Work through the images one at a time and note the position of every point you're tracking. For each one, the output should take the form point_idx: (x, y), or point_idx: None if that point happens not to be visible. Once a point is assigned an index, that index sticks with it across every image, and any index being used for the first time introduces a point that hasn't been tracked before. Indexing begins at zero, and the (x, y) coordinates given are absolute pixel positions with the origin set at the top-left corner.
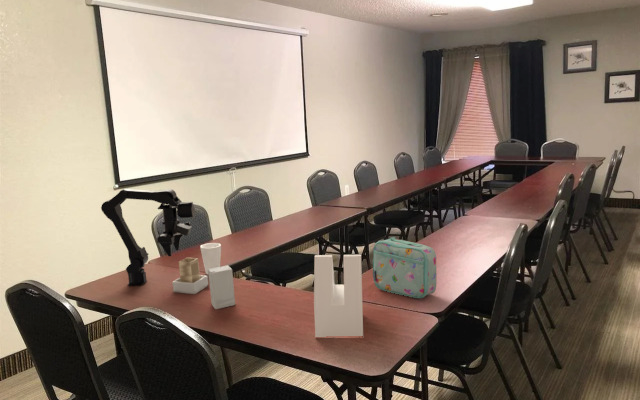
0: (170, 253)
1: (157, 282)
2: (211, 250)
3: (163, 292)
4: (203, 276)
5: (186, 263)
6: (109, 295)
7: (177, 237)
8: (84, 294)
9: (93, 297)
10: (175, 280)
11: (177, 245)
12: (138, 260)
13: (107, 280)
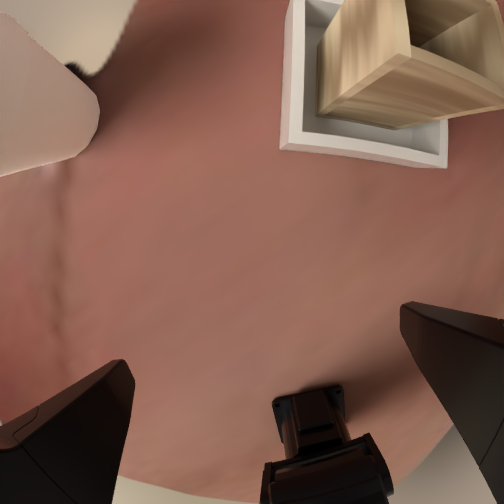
0: (442, 311)
1: (286, 343)
2: (12, 24)
3: (422, 218)
4: (304, 10)
5: (497, 33)
6: (435, 405)
7: (33, 498)
8: (412, 461)
9: (441, 428)
10: (428, 158)
11: (100, 408)
12: (390, 480)
13: None
